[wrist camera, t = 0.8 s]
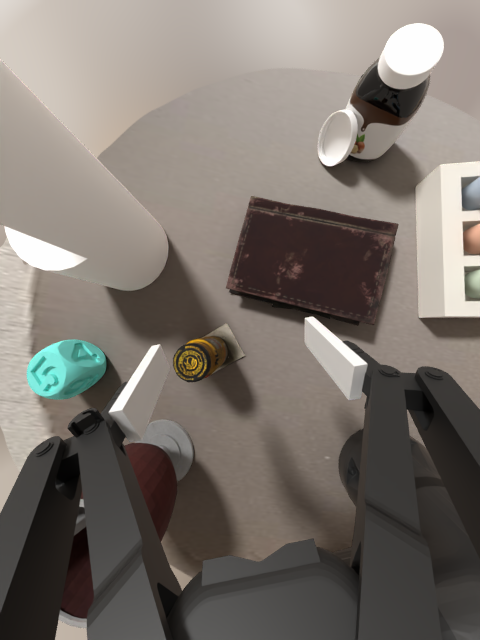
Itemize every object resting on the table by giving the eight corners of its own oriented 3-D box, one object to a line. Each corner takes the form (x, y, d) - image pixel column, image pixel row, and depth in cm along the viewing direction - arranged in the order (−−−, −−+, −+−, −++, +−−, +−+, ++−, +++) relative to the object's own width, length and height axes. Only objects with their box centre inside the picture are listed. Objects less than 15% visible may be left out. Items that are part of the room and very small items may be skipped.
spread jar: (396, 138, 33) (471, 37, 21) (361, 190, 33) (415, 118, 22) (340, 110, 34) (381, 1, 23) (306, 160, 35) (330, 77, 23)
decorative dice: (89, 337, 38) (45, 340, 30) (114, 362, 38) (75, 372, 30) (66, 364, 39) (17, 374, 31) (91, 390, 38) (46, 407, 30)
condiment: (191, 343, 36) (157, 352, 24) (227, 323, 35) (210, 321, 23) (208, 375, 35) (182, 401, 23) (245, 355, 35) (237, 370, 23)
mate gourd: (207, 432, 35) (139, 572, 15) (183, 497, 35) (85, 725, 15) (138, 401, 37) (-4, 491, 17) (116, 464, 37) (-52, 629, 17)
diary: (252, 209, 36) (251, 190, 31) (380, 234, 33) (401, 218, 28) (228, 296, 36) (223, 291, 31) (355, 329, 33) (373, 329, 28)
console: (488, 317, 30) (528, 316, 26) (418, 317, 32) (445, 316, 27) (483, 182, 31) (521, 158, 27) (415, 186, 32) (440, 164, 28)
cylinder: (141, 195, 38) (-176, -159, 10) (184, 259, 37) (-54, 48, 9) (80, 242, 39) (-354, 40, 11) (118, 306, 38) (-273, 253, 10)
